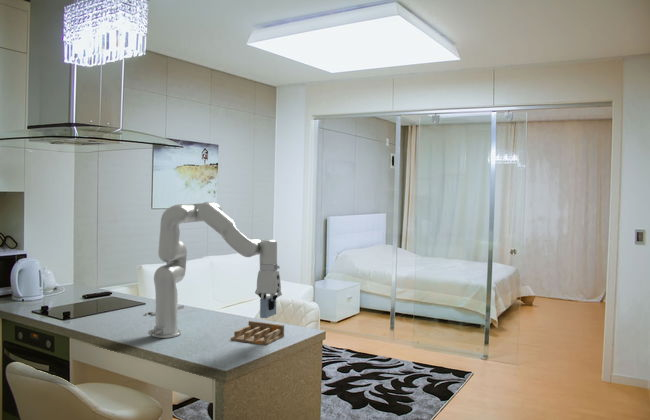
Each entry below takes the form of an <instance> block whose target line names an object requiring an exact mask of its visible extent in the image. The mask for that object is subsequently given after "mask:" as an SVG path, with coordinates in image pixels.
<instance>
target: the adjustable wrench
mask: <svg viewBox="0 0 650 420" xmlns="http://www.w3.org/2000/svg"><path fill="white" fill-rule="evenodd" d="M181 309H185V305H178V310H181ZM149 315H150V316H151V317H156V310H152V311H151V310H150V311H146V312H144V316H145V317H146V316H149Z"/></svg>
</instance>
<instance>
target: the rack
mask: <svg viewBox="0 0 650 420" xmlns="http://www.w3.org/2000/svg"><path fill="white" fill-rule="evenodd" d="M233 333H234V336H232V337H230V341H235V342H242V343H248V344H255V345H262V346H268V345H270V344H272V343H273V342H276V341H277V340H279V339H282V338H283V337H285V325H284V324H280V323H279V324H278V323H270V322H262V321H253V320H249V321H248V325H247V326H244V327H242V328H239V329H237V330H235V331H234V332H233Z"/></svg>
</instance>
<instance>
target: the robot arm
mask: <svg viewBox="0 0 650 420" xmlns="http://www.w3.org/2000/svg"><path fill="white" fill-rule="evenodd" d="M196 222H204V223H205V224H206V225H208V226H209V227H210V228H212V229H213V230H214V231H215V232H217V234H219V235H220V236H221V237H222V239H223V240H224V241H225V242H226V244H228V245H229V247H230V248H231V249H233V250H234V251H236V253H238V254H239V255H241V256H243V257H245V258H251V257H254V256H259V270H258V272H257V278H256V289H255V291H254V293H255V295H257V296H258V297H259V298H260V299H263V298H265V297H267V295H269V296H270V300H271V301H270V310H273V309H274V307H275V300H276V301H277V298H279V297H281V296H282V295H283V294H282V293H283V292H282V291H281V290H282V285H281V284H282V283H281V275H280V271H279V269H280V267H281V266H280V265H278V241H276V239H258V238H248V237H247V236H246V235H244V234H243V233H242V232H241V231H240V230H239V229H238V228H237V225H236V223H235V221H234V220H233V218H231V217H230V216H228V215H227V214H226V213H225V212H223V210H222V207H221V206H220V204H219V203H217V202H215V201H205V202H202V203H187V204H186V203H180V204H175V205H172V206H170V207H168V208H167V209H166V210H164V212H163V213H162V215H161V218H160V228H159V229H160V230H159V241H158V258H159V259H160V260H161V261H162V262H164V263H166V264H163V265H161V266H159V267H157V269H156V270H155V272H154V275H153V283H154V284H153V285H154V288H155V311H156V316H155V326H153V329H150V330H148V335H149V336H150V335H151V336H152V337H154V338H156V339H167V338H168V339H169V338H175V337H178V336H180V335H181V334H182V331H181V330H180V329H178V313H179V312H178V310H179V309H178V306H179V305H178V301H179V300H178V295H179V294H178V289H177V284H178V283H180V282H182V280H183V279H184V278H185V275H186V272H187V271H186V268H187V258H188V257H187V256H188V255H187V253H188V251H187V246H186V244H185V243H184V242H183V241H182V240H180V234H181V233H180V232H181V231H180V224H186V223H187V224H188V223H196Z"/></svg>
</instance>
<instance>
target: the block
mask: <svg viewBox="0 0 650 420" xmlns="http://www.w3.org/2000/svg"><path fill="white" fill-rule="evenodd" d="M270 301H271V300H270V295H269V296H266V297H265V298H263V299H261V298H260V300H259V303H260V304H259V305H260V306H259V318H260V319H267V318H270V317H273V316H275V315H277V299H276V300H275V307H274V309H273V310H270Z"/></svg>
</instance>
